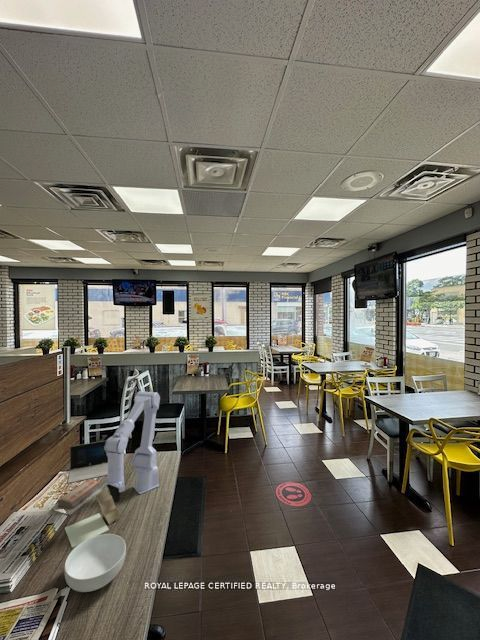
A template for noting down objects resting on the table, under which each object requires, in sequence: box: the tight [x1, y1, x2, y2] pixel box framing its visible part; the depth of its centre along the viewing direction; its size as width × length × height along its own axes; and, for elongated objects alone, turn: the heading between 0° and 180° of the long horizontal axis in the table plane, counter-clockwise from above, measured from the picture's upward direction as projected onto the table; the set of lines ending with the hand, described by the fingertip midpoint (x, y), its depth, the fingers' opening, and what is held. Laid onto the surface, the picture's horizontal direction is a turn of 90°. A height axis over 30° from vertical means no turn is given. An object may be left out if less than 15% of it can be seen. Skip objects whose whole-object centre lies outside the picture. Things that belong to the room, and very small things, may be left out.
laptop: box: [67, 439, 108, 484], centre depth 143 cm, size 18×12×13 cm
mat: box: [64, 512, 110, 549], centre depth 105 cm, size 12×12×1 cm
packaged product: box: [51, 478, 105, 516], centre depth 122 cm, size 18×5×10 cm
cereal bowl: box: [63, 533, 127, 593], centre depth 86 cm, size 17×17×7 cm
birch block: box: [95, 488, 120, 525], centre depth 110 cm, size 4×6×10 cm, turn 42°
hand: (115, 501), depth 112 cm, fingers closed
